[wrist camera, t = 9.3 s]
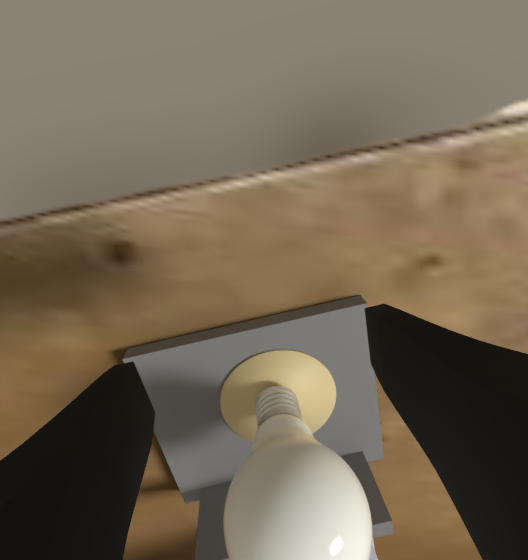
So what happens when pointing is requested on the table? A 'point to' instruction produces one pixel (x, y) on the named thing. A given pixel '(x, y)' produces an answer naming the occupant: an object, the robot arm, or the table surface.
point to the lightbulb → (294, 493)
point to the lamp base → (244, 391)
